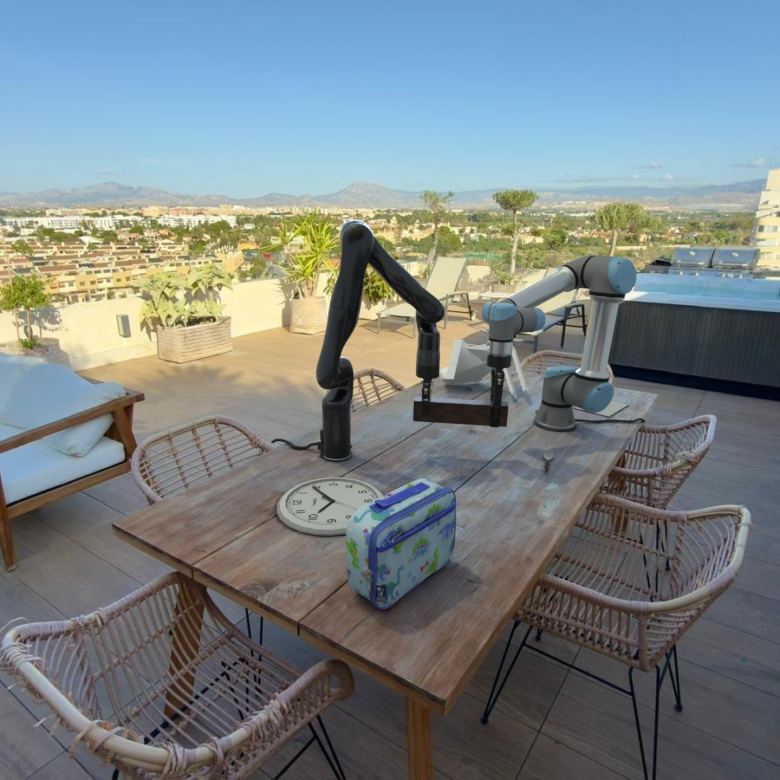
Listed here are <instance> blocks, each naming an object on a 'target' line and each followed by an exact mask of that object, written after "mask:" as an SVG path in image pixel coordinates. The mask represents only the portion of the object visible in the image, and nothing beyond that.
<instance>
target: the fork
mask: <svg viewBox="0 0 780 780" xmlns="http://www.w3.org/2000/svg"><path fill="white" fill-rule="evenodd" d="M553 451H554V450H553V448H552V451H551V449H549V451H547V450H545V452H544V455H543V459H545V460H546V461H545V463H544V473H547V470H548V468H549V461H551V460H553Z"/></svg>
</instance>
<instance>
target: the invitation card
mask: <svg viewBox="0 0 780 780" xmlns="http://www.w3.org/2000/svg"><path fill="white" fill-rule="evenodd" d="M628 406H629V404H627V403H623V402H618V401H614V400H611V402H610V404H609V405H608V406H607V407H606V408H605V409H604V410H602V411H600V412H597V413H595V414H596V415H600V416H604V417H608V418H609V417H611V416H613V415H614V414H616V413H617V412H619V411H621V410H623V409H624V408H626V407H628ZM573 409H575V410H581V411H584V412H586V411H585V410H583V409H581V408H578V407H576V406H573ZM587 413H593V412H590V411H587ZM593 414H594V413H593Z"/></svg>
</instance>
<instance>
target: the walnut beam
mask: <svg viewBox="0 0 780 780" xmlns="http://www.w3.org/2000/svg"><path fill="white" fill-rule="evenodd" d="M424 401H428V399H424ZM421 402H422V397H421V396H414V398H413V405H412V406H413V407H412V408H413V409H412V410H413V411H412V422H419V423H432V424H433V423H434V424H448V425H449V424H450V425H451V424H452V425H466V426H467V425H469V426H483V427H484V426H485V427H490V420H491V408H490V406H492V403H493V401H491V400H482V399H481V400H479V399H464V398H463V399H461V398H445V397H444V398H443V397H431V398H430V405H429V415H428V416H423V415H422V403H421ZM501 406H502V407H501V409H500V419H499V428H507V427H508V417H509V403H508V401H502V403H501Z"/></svg>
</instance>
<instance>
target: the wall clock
mask: <svg viewBox="0 0 780 780" xmlns="http://www.w3.org/2000/svg"><path fill="white" fill-rule="evenodd" d="M384 495H385V494H384V493H383V492H382V491H381V490H380V489H379V488H377V487H376V486H374V485H372V484H371V483H369V482H365V481H362V480H359V479H355V478H349V477H338V476H337V477H335V476H333V477H332V476H331V477H322V478H317V479H312V480H307V481H305V482H302V483H299V484H297V485H295V486H293V487H292V488H290V489H288V490H287V491H286V492H285V493H284V494H283V495H281V496H280V498H279V499H278V502H277V503H276V515H277V517H278V518H279V520H280V521H281V522H282V523H283V524H285V525H286V526H287V527H288V528H290V529H293V530H295V531H297V532H299V533H303V534H308V535H312V536H327V537H328V536H329V537H331V536H332V537H333V536H342V535H346V528H347V524H348V521H349V519H350V517H351V515H352V514H353V513H354V512H355V511H356V510H357V509H358V508H360V507H362V506H364V505H366V504H368V503H370V502H372V501H374V500H376V499H378V498H380V497H382V496H384Z"/></svg>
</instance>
